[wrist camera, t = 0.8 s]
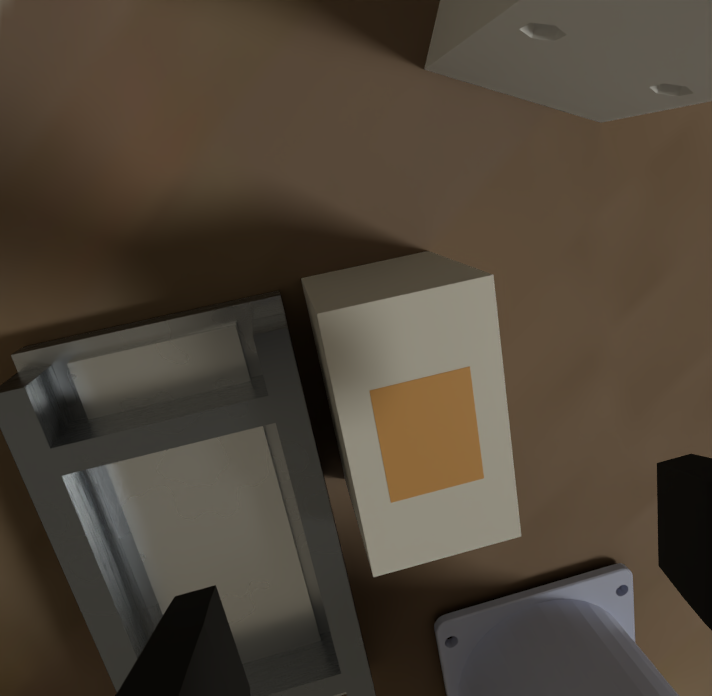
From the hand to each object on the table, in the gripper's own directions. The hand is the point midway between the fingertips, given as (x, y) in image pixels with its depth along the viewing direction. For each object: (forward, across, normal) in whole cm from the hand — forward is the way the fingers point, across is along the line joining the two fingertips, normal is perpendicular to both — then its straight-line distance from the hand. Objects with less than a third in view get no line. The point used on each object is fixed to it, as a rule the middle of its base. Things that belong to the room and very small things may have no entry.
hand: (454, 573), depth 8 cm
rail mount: (+9, +5, +4) cm, 12 cm away
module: (+10, -1, 0) cm, 10 cm away
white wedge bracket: (+10, -7, -9) cm, 15 cm away
